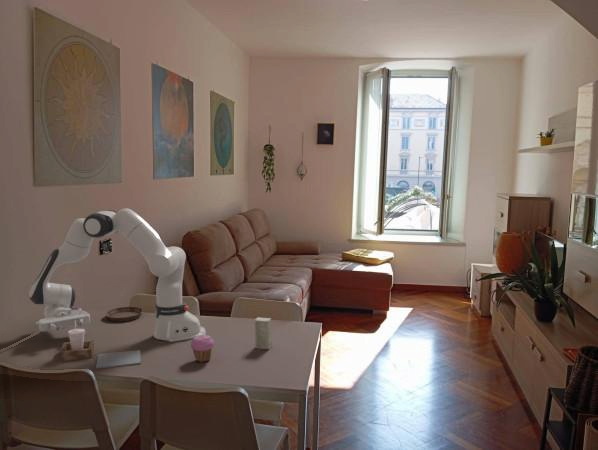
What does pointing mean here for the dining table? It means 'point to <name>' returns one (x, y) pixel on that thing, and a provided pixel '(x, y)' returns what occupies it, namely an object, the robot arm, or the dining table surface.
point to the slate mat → (118, 359)
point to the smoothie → (76, 338)
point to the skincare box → (263, 333)
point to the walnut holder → (77, 351)
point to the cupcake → (202, 347)
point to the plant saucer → (124, 313)
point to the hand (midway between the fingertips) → (69, 326)
